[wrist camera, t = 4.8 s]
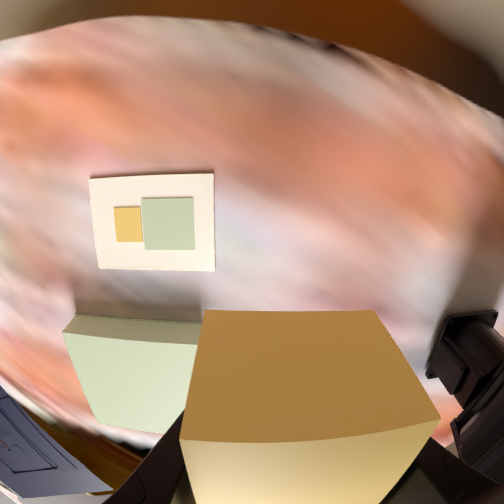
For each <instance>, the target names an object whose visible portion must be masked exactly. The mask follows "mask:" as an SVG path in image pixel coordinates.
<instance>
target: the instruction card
mask: <svg viewBox="0 0 504 504" xmlns="http://www.w3.org/2000/svg"><path fill="white" fill-rule="evenodd" d="M89 192H90V204H91V214H92V223H93V232H94V239H95V247H96V253H97V260H98V266H99V268H100V269H134V270H177V271H215V235H214V173H207V174H164V175H141V176H123V177H108V178H95V179H89Z"/></svg>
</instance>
